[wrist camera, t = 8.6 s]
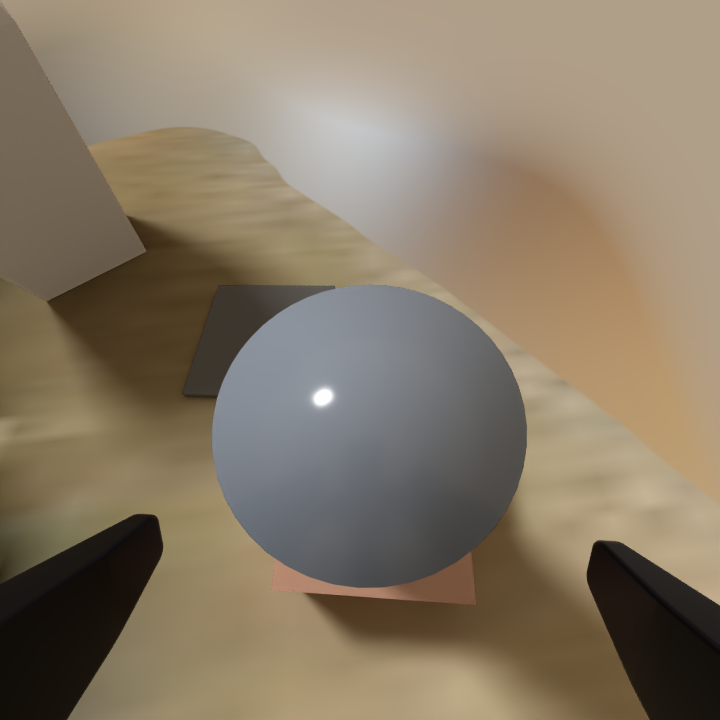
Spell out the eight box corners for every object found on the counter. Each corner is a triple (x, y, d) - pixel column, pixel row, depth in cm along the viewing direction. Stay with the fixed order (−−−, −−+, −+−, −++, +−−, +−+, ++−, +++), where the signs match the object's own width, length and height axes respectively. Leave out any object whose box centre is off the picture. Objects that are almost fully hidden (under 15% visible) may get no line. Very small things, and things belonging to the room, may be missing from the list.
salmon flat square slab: (457, 592, 16) (476, 605, 13) (291, 581, 16) (271, 589, 13) (445, 428, 19) (458, 406, 16) (311, 423, 20) (299, 401, 17)
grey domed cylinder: (419, 576, 13) (510, 657, 4) (299, 532, 14) (147, 512, 5) (444, 450, 15) (537, 315, 6) (339, 419, 16) (287, 264, 7)
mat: (322, 400, 21) (321, 397, 20) (185, 396, 21) (182, 393, 21) (335, 289, 25) (334, 285, 25) (220, 288, 26) (218, 285, 25)
